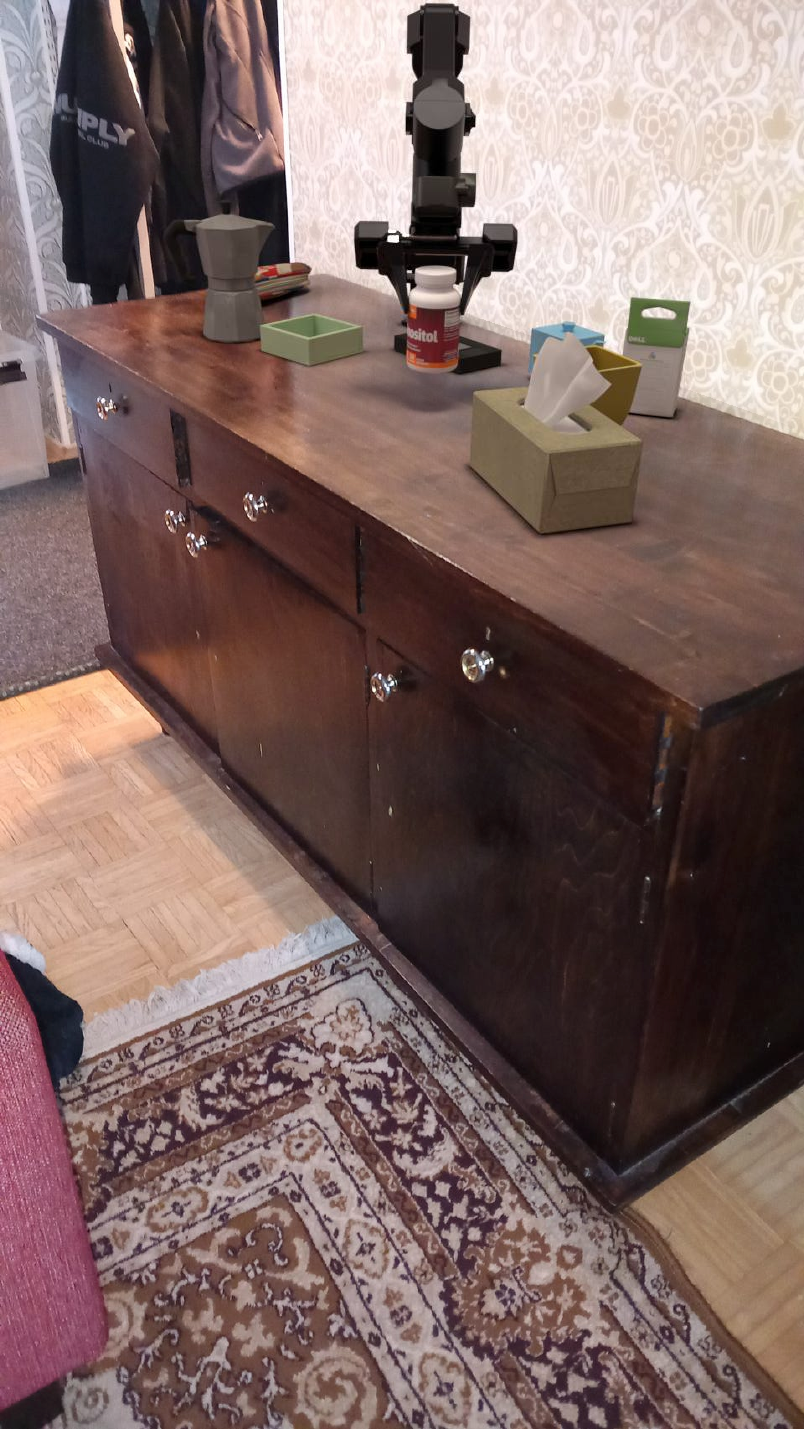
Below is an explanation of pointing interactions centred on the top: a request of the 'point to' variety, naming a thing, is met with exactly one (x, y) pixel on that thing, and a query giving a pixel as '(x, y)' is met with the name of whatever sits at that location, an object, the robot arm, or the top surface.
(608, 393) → the flower pot
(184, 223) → the coffeepot
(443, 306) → the pill bottle
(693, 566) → the top surface
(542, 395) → the tissue box
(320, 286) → the top surface
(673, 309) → the ink box
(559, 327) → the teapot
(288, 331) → the box
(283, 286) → the pencil case
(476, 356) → the vhs tape
